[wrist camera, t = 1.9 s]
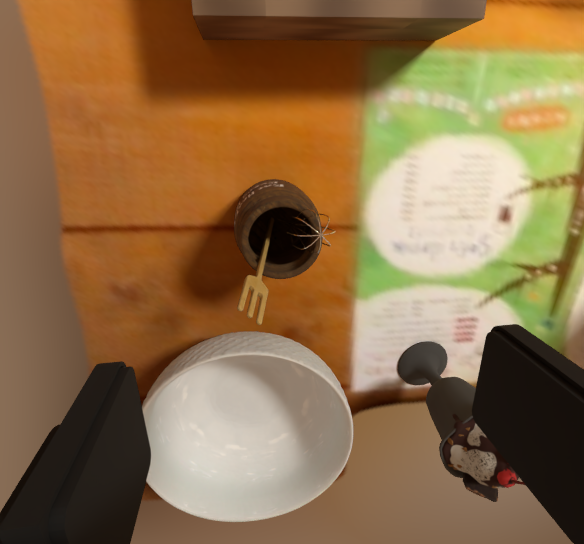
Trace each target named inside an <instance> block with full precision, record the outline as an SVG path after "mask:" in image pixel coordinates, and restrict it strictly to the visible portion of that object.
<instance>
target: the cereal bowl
mask: <svg viewBox="0 0 584 544" xmlns="http://www.w3.org/2000/svg"><path fill="white" fill-rule="evenodd" d="M142 410H143V415H144V420H145V425H146V429H147V434H148V439H149V443H150V448H151V463H150V468H149V472H148V476H147V480H146V482H147V483H148V485H149V486H150V487H151V488H152V489H153V490H154V491H155V492H156V493H157V494H158V495H159V496H160V497H161V498H163V499H164V500H165V501H167V502H168V503H170V504H171V505H173V506H175V507H176V508H178V509H180V510H182V511H184V512H187V513H189V514H192V515H195V516H198V517H202V518H205V519H210V520H217V521H229V522H244V521H255V520H262V519H267V518H271V517H275V516H278V515H281V514H285V513H287V512H290V511H293V510H295V509H297V508H299V507H301V506H303V505H305V504H307V503H308V502H310V501H311V500H313V499H315V498H316V497H317V496H319V495H320V494H321V493H323V492H324V491H325V490H326V489H327V488H328V487H329V486H330V485H331V484H332V483H333V482H334V481H335V480H336V478H337V477H338V476H339V474H340V473H341V472H342V470H343V468H344V466H345V465H346V463H347V461H348V458H349V455H350V452H351V449H352V443H353V420H352V415H351V410H350V407H349V405H348V402H347V398H346V396H345V394H344V391H343V389H342V388H341V385H340V383H339V381H338V380H337V378H336V376H335V375H334V374H333V373H332V371H331V369H330V368H329V367H328V366H327V365H326V363H325V362H324V361H322V360H321V359H320V358H319V356H317V355H316V354H314V353H313V352H312V351H310V350H309V349H308V348H306V347H304V346H303V345H301V344H300V343H298V342H295V341H293V340H291V339H289V338H285V337H283V336H278V335H275V334H271V333H264V332H257V331H256V332H251V331H250V332H236V333H230V334H224V335H219V336H217V337H214V338H210V339H208V340H205V341H203V342H201V343H198V344H197V345H194V346H193V347H191V348H189V349H188V350H186V351H184V352H183V353H182V354H181V355H179V356H178V357H177V358H176V359H175V360H173V361H172V362H171V363H170V364H169V365H168V366H167V367H166V368H165V369H164V370H163V372H162V373H161V374H160V375H159V376H158V378H157V380H156V381H155V383H154V384H153V385H152V387H151V389H150V391H149V392H148V394H147V397H146V399H145V400H144V402H143V406H142Z"/></svg>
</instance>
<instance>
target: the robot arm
mask: <svg viewBox="0 0 584 544" xmlns="http://www.w3.org/2000/svg"><path fill="white" fill-rule="evenodd" d="M472 416H473V419H474V421H475V423H476V424H477V426H478V427H479V428H480V429H481V431H482V432H483V433H484V434H485V435H486V437H487V438H488V439H489V440H490V442H491V443H492V444H493V445H494V447H495V448H496V449H497V450H498V451H499V453H500V454H501V455H502V456H503V458H504V459H505V460H506V461H507V463H508V464H509V465H510V466H511V467H512V469H513V470H514V471H515V472H516V474H517V475H518V476H519V477H520V478H521V480H522V481H523V482H524V483H525V485H526V486H527V487H528V488H529V490H530V491H531V492H532V493H533V495H534V496H535V497H536V498H537V499H538V501H539V502H540V503H541V504H542V506H543V507H544V508H545V509H546V511H547V512H548V513H549V514H550V516H551V517H552V518H553V519H554V520H555V522H556V523H557V524H558V525H559V527H560V528H561V529H562V530H563V532H564V533H565V534H566V535H567V536H568V538H569V539H570V540H571V541H572V542H573V543H574V544H584V370H583V369H582V368H580V367H579V366H578V365H576V364H575V363H573V362H572V361H570V360H569V359H567V358H566V357H565V356H563V355H562V354H560V353H559V352H557V351H556V350H554V349H553V348H552V347H550V346H549V345H547V344H546V343H544V342H543V341H542V340H540V339H539V338H537V337H536V336H534V335H533V334H531V333H530V332H529V331H527V330H526V329H524V328H523V327H521V326H519V325H516V324H513V325H503V326H495V327H493V329H492V330H491V332H489V333H488V334H487V336H486V340H485V345H484V350H483V355H482V360H481V365H480V371H479V376H478V381H477V386H476V391H475V396H474V401H473V406H472ZM150 463H151V448H150V443H149V439H148V434H147V429H146V425H145V420H144V415H143V410H142V406H141V401H140V396H139V391H138V387H137V382H136V377H135V373H134V369H133V367H126V365H125V363H124V362H112V363H101V364H97V365H96V366H95V368H94V369H93V371H92V373H91V374H90V376H89V378H88V379H87V381H86V383H85V384H84V386H83V388H82V390H81V391H80V393H79V394H78V396H77V398H76V400H75V401H74V403H73V405H72V406H71V408H70V410H69V411H68V413H67V415H66V416H65V418H64V420H63V421H62V423H61V425H57V426H56V427H54V428H53V429H52V430H51V432H50V433H49V435H48V436H47V438H46V439H45V441H44V443H43V444H42V446H41V447H40V449H39V451H38V452H37V454H36V455H35V457H34V459H33V460H32V462H31V464H30V465H29V467H28V468H27V470H26V472H25V473H24V475H23V477H22V478H21V480H20V481H19V483H18V485H17V486H16V488H15V490H14V491H13V493H12V494H11V496H10V498H9V499H8V501H7V503H6V504H5V506H4V508H3V509H2V511H1V512H0V544H130V542H131V538H132V534H133V530H134V526H135V522H136V518H137V515H138V511H139V507H140V503H141V499H142V495H143V491H144V488H145V484H146V480H147V476H148V472H149V468H150Z"/></svg>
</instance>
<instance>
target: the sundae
mask: <svg viewBox="0 0 584 544" xmlns="http://www.w3.org/2000/svg"><path fill="white" fill-rule="evenodd" d="M446 365H447V354H446V351H445V349H444V348H443V347H442V346H441V345H440V344H437V343H434V342H421V343H418V344H416V345H414V346H412V347H410V348H409V349H408V350H407V351H406V352H405V353H404V354H403V356H402V357H401V359H400V361H399V366H398V370H399V374H400V376H401V378H402V379H403V380H404V381H406V382H407V383H410V384H413V385H424V384H427V383H430V384H431V385H432V386H431V387H430V389H429V391H428V394H427V397H426V404H427V406H428V409H429V412H430V415H431V417H432V420H433V422H434V424H435V426H436V428H437V430H438V432H439V434H440V437H441V439H442V441H441V443H440V447H439V449H440V456H441V459H442V462H443V464H444V466H445V468H446V469H447V470H448V471H449V472H450V473H451V474H452V475H454V476H455V477H460V478H463V482H464V485H465V487H466V489H468V490H469V491H471V492H473V493H475V494H477V495H479V496H482V497H485V498H487V499H489V500H491V501H493V502H496V501H497V500H498V488H503V487H507V488H508V487H511V486H513V485H515V483H517V484H523V485H525V483H524V482H519V481H517V480H518V478H519V476H518V475H517V474H516V472H515V471H514V470H513V469H512V467H511V466H510V465H509V464H508V463H507V461H506V460H505V459H504V458H503V456H502V455H501V454H500V453H499V451H498V450H497V449H496V448H495V447H494V445H493V444H492V443H491V442H490V440H489V439H488V438H487V437H486V435H485V434H484V433H483V432H482V431H481V429H480V428H479V427H478V426H477V424H476V423H475V421H474V419H473V416H472V406H473V401H474V396H475V391H476V388H475V387H473V386H472V385H470V384H469V383H467V382H466V381H464V380H463V379H460V378H458V377H447V378H441V376H440V375H441V374H442V372H443V371H444V369H445V368H446Z"/></svg>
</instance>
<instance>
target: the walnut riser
mask: <svg viewBox="0 0 584 544" xmlns="http://www.w3.org/2000/svg"><path fill="white" fill-rule="evenodd" d="M486 1H487V0H192V9H193V16H194V19H195V21H196V23H197V26H198V28H199V30H200V33H201V35H202V37H203V39H209V40H438V39H440V38H443V37H445V36H447V35H449V34H451V33H453V32H456V31H458V30H460V29H462V28H464V27H467V26H469V25H471V24H473V23H475V22H477V21H480V20H482V19H484V15H485V8H486Z"/></svg>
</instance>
